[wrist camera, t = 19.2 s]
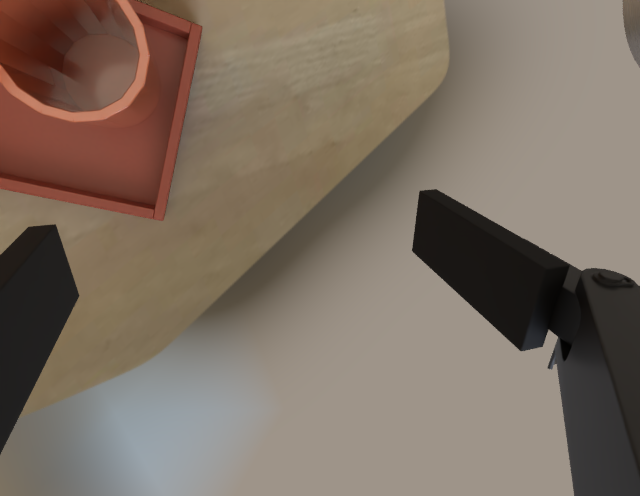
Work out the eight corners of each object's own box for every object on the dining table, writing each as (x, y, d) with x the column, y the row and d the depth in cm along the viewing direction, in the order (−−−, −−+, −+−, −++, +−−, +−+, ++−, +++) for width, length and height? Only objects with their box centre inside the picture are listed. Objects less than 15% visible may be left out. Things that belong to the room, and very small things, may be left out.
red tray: (201, 35, 31) (202, 26, 28) (164, 215, 33) (163, 221, 31) (-73, -71, 24) (-101, -94, 22) (-93, 162, 27) (-119, 164, 25)
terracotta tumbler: (169, 50, 30) (161, -3, 19) (152, 140, 31) (134, 139, 20) (64, 12, 27) (-16, -75, 16) (50, 112, 28) (-34, 94, 17)
